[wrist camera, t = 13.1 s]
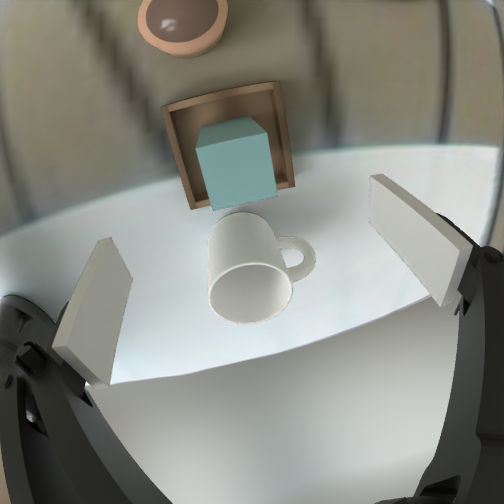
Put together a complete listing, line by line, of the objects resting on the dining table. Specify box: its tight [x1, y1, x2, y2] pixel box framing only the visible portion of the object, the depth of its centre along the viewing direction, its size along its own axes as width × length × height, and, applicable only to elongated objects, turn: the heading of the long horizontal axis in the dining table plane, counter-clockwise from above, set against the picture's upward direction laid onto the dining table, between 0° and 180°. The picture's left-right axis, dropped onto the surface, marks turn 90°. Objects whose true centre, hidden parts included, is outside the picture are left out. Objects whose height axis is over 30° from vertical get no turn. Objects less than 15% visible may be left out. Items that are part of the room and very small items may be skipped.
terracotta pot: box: [137, 0, 228, 58], centre depth 17 cm, size 7×7×7 cm
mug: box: [208, 212, 316, 324], centre depth 31 cm, size 12×8×10 cm
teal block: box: [196, 116, 277, 211], centre depth 24 cm, size 5×5×10 cm
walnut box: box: [161, 81, 295, 210], centre depth 27 cm, size 11×11×2 cm
